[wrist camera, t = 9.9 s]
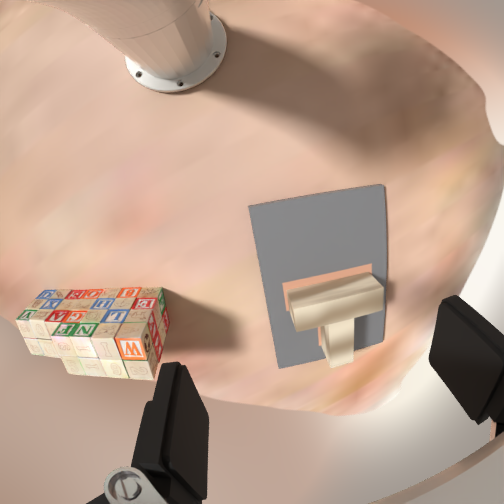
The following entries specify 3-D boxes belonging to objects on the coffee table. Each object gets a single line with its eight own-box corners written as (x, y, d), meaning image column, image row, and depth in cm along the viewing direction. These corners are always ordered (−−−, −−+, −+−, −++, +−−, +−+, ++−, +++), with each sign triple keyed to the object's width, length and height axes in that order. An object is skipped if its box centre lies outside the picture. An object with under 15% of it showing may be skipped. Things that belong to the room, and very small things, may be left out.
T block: (286, 290, 39) (293, 309, 34) (368, 271, 39) (383, 287, 34) (295, 353, 43) (301, 375, 38) (366, 335, 43) (379, 353, 38)
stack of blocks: (55, 322, 40) (21, 366, 28) (44, 289, 38) (3, 329, 26) (170, 323, 41) (154, 381, 29) (163, 285, 39) (140, 339, 27)
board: (248, 205, 36) (248, 207, 35) (380, 183, 36) (383, 185, 35) (278, 364, 45) (278, 368, 44) (380, 338, 45) (382, 342, 44)
